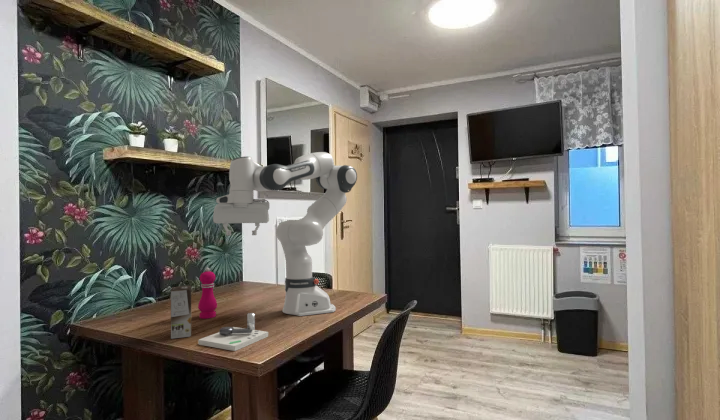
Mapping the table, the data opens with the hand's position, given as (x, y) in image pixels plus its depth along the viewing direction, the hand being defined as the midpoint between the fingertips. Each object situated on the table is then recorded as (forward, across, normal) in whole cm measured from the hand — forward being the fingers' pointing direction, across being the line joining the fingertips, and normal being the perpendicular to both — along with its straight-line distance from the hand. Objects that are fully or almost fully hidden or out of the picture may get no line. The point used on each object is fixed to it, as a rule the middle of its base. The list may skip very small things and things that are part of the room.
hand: (241, 235), depth 147 cm
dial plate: (+33, -1, +20) cm, 39 cm away
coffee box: (+34, +19, +10) cm, 40 cm away
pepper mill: (+34, +16, -14) cm, 40 cm away
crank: (+31, -2, +18) cm, 36 cm away
